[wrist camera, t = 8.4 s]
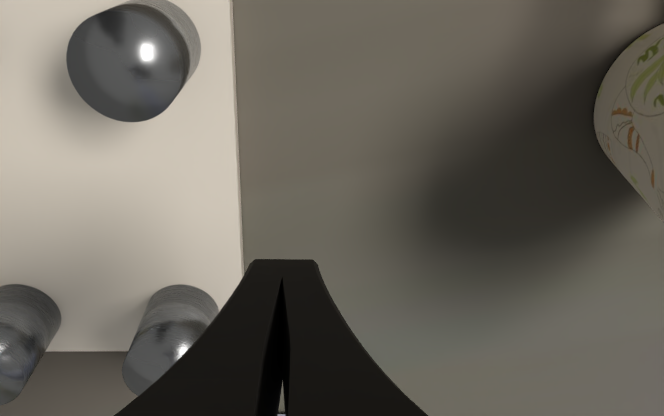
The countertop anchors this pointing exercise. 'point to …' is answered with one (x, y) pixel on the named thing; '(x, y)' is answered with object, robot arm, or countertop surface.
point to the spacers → (127, 106)
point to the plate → (114, 178)
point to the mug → (636, 116)
